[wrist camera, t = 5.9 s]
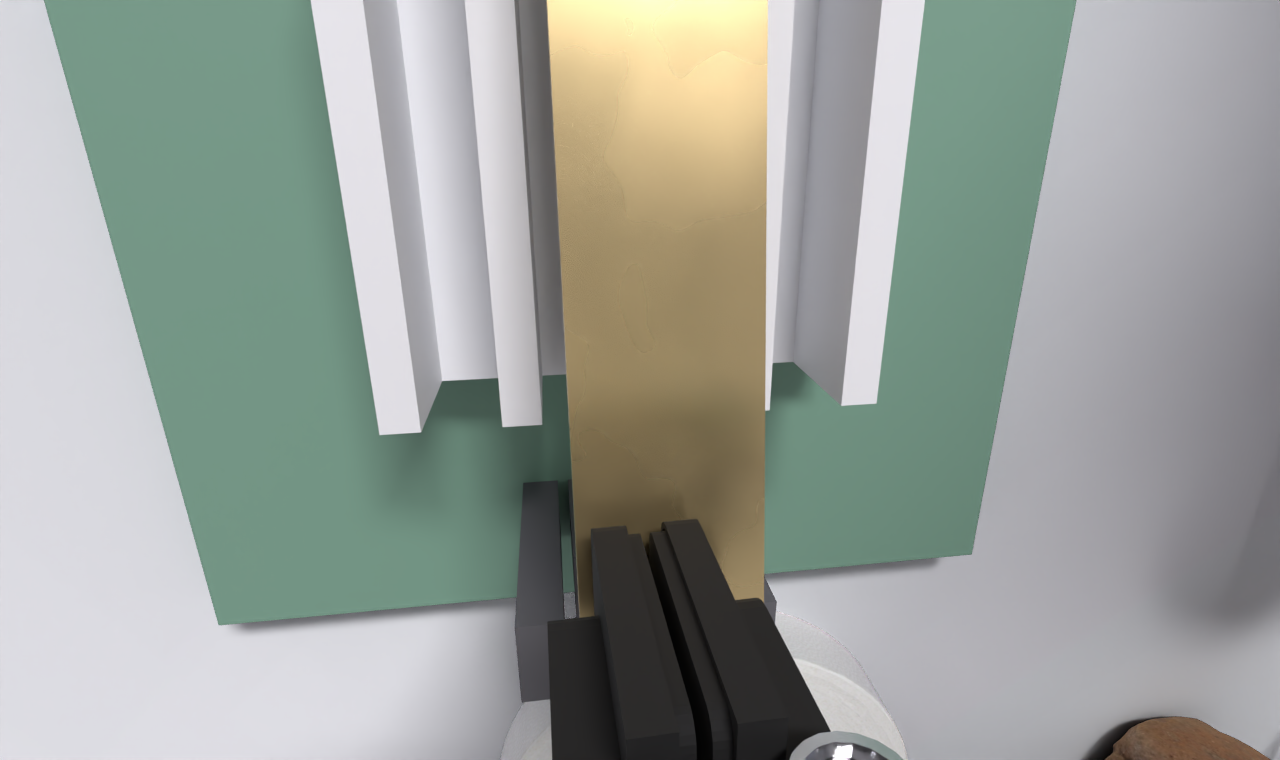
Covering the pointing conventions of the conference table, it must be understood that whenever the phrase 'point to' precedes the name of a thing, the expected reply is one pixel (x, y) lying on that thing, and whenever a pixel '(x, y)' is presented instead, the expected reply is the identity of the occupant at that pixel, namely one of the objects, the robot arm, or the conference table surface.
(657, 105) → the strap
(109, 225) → the motherboard
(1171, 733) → the block
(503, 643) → the conference table surface
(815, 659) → the roll of tape
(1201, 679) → the conference table surface
